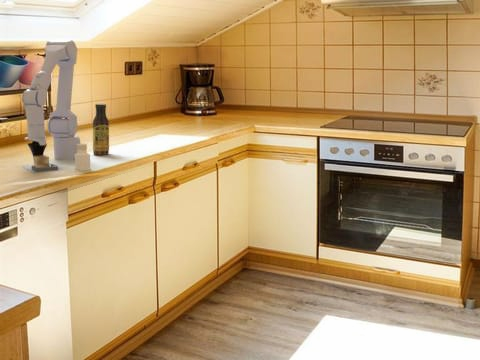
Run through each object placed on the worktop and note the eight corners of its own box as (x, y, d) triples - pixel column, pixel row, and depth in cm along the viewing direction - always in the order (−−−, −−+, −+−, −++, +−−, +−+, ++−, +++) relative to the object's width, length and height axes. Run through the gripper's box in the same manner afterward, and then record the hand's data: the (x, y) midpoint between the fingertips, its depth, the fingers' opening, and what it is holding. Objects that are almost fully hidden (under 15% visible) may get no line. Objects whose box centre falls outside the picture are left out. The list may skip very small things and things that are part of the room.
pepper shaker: (81, 173, 212) (80, 145, 210) (74, 171, 214) (73, 144, 212) (91, 171, 215) (90, 144, 213) (84, 170, 217) (83, 142, 215)
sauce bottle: (94, 156, 243) (92, 105, 239) (91, 153, 248) (89, 103, 244) (111, 155, 245) (109, 104, 241) (108, 152, 251) (106, 102, 247)
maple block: (45, 166, 219) (44, 154, 219) (49, 168, 216) (48, 156, 215) (34, 167, 217) (33, 156, 216) (37, 169, 214) (37, 157, 213)
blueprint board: (49, 165, 225) (49, 159, 225) (63, 172, 213) (63, 166, 213) (21, 168, 220) (21, 162, 219) (34, 175, 208) (33, 169, 207)
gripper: (18, 122, 220) (21, 160, 223) (30, 127, 208) (32, 167, 211) (38, 121, 224) (40, 158, 227) (51, 126, 212) (53, 165, 215)
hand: (38, 162), depth 219 cm, fingers closed
